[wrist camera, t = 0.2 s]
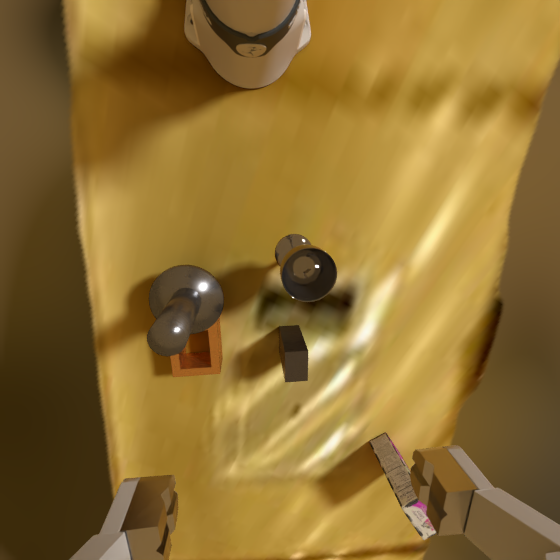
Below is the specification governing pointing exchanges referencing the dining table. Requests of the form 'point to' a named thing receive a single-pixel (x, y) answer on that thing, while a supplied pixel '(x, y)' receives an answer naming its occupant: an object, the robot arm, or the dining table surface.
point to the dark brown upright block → (293, 354)
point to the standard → (186, 318)
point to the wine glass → (305, 268)
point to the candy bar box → (402, 484)
